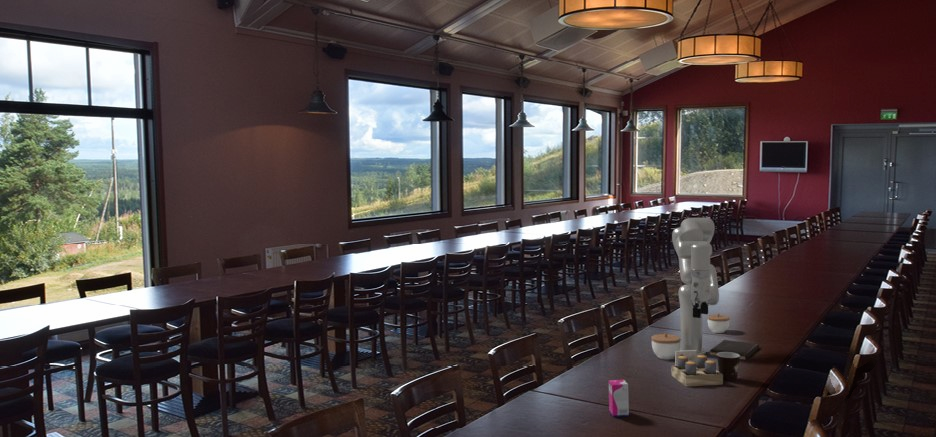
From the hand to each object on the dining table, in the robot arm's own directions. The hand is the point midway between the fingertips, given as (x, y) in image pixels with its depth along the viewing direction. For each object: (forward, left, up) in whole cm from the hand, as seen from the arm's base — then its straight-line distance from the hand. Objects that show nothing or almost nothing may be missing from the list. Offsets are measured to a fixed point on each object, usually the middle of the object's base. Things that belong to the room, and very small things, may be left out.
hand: (700, 315), depth 287 cm
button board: (+10, -6, -24) cm, 26 cm away
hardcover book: (-27, +28, -25) cm, 46 cm away
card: (0, -6, -24) cm, 25 cm away
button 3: (+6, -2, -20) cm, 21 cm away
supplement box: (+42, -48, -24) cm, 68 cm away
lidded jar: (-63, +37, -24) cm, 77 cm away
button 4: (+14, -2, -20) cm, 25 cm away
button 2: (+14, -10, -20) cm, 27 cm away
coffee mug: (+11, +8, -24) cm, 28 cm away
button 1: (+6, -10, -20) cm, 24 cm away
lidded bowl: (-23, -6, -24) cm, 34 cm away
